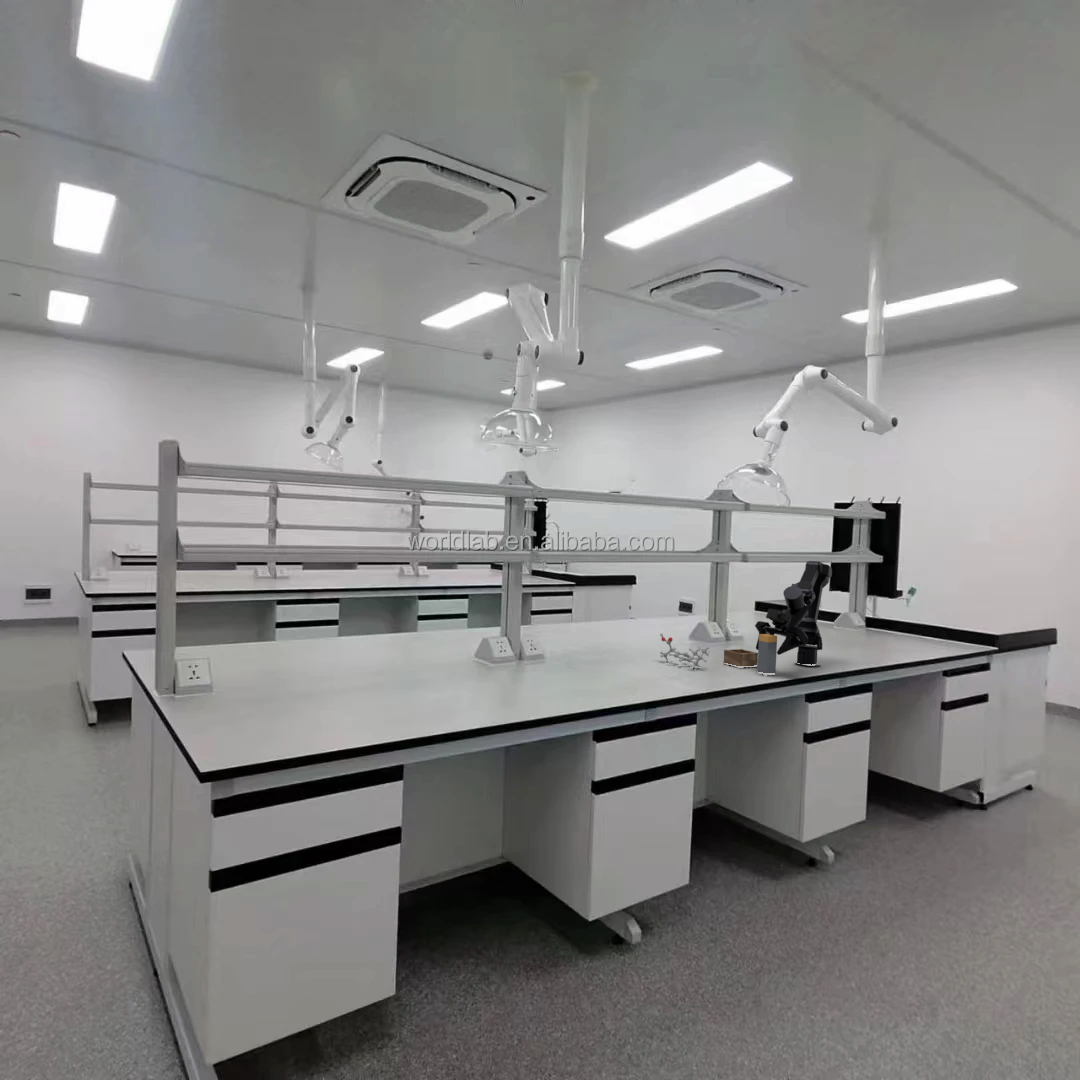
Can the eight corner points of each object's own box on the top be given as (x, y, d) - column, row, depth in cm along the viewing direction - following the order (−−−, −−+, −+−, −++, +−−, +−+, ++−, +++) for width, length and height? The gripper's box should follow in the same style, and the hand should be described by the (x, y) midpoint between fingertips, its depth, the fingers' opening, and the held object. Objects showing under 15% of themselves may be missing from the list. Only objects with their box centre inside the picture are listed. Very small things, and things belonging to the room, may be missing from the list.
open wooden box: (740, 662, 244) (741, 648, 244) (757, 667, 237) (757, 653, 237) (723, 664, 240) (724, 649, 240) (739, 668, 233) (740, 654, 233)
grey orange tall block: (766, 672, 228) (768, 634, 227) (775, 675, 224) (777, 635, 224) (757, 673, 226) (759, 634, 226) (766, 676, 222) (768, 636, 222)
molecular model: (715, 670, 229) (716, 641, 228) (692, 675, 224) (693, 645, 223) (675, 657, 246) (676, 630, 245) (654, 661, 240) (654, 633, 239)
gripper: (760, 597, 235) (734, 630, 230) (803, 603, 219) (777, 639, 214) (775, 619, 239) (750, 652, 234) (819, 627, 222) (793, 663, 217)
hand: (767, 651), depth 225 cm, fingers open, 9 cm apart
